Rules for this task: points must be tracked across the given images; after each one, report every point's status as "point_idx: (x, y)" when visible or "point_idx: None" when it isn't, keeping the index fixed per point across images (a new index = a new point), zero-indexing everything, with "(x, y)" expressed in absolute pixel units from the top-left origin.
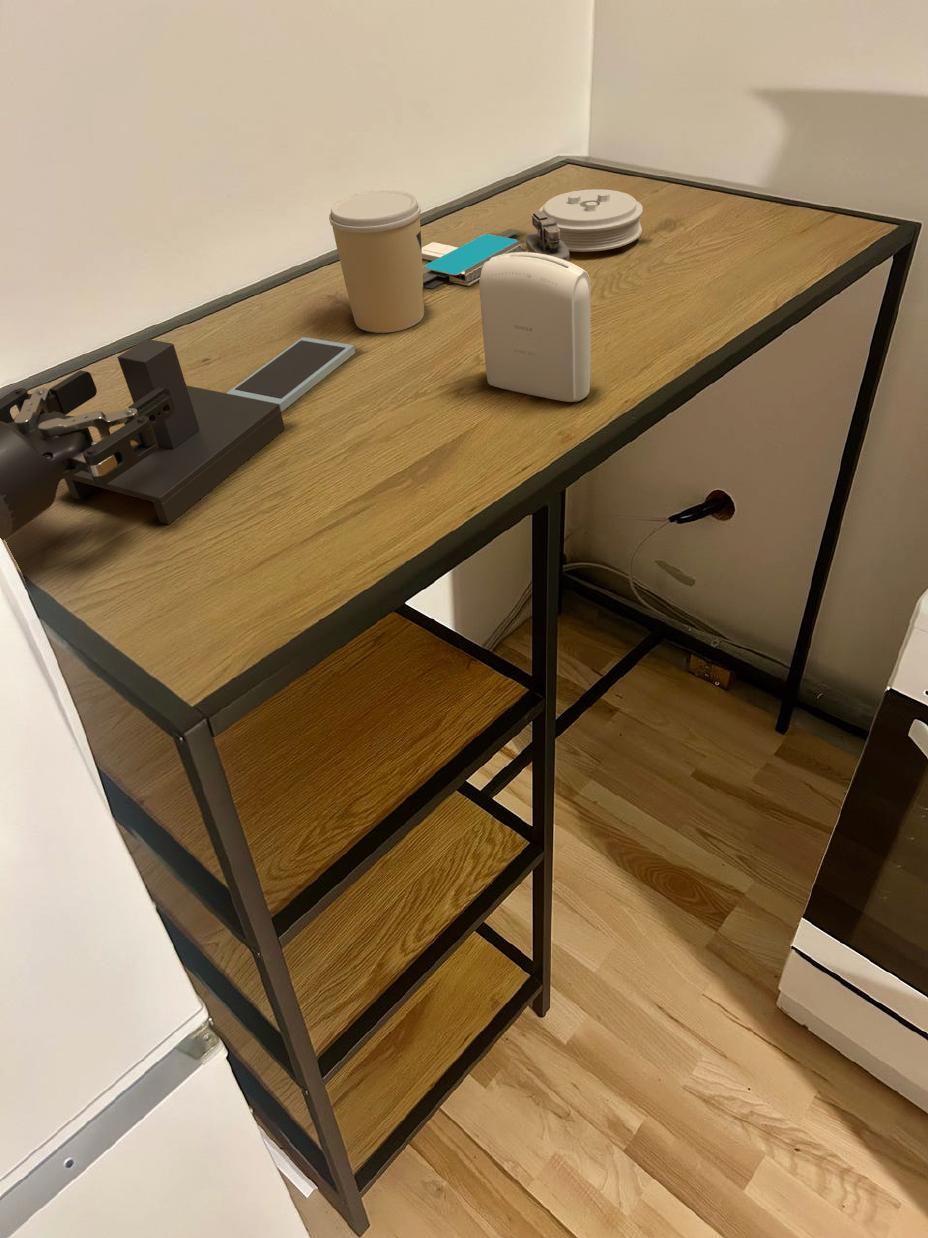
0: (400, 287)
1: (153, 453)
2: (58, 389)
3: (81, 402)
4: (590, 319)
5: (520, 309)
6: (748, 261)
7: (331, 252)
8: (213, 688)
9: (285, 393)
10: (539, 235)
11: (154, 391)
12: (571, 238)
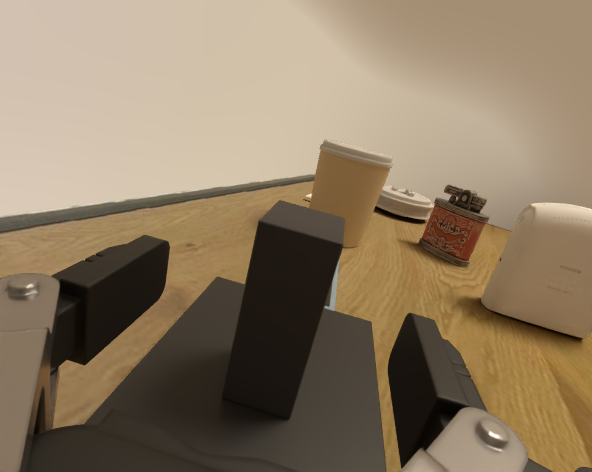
0: (368, 214)
1: (252, 434)
2: (97, 285)
3: (131, 319)
4: None
5: (576, 252)
6: (495, 241)
7: (241, 184)
8: None
9: (328, 300)
10: (465, 199)
11: (426, 329)
12: (405, 209)
